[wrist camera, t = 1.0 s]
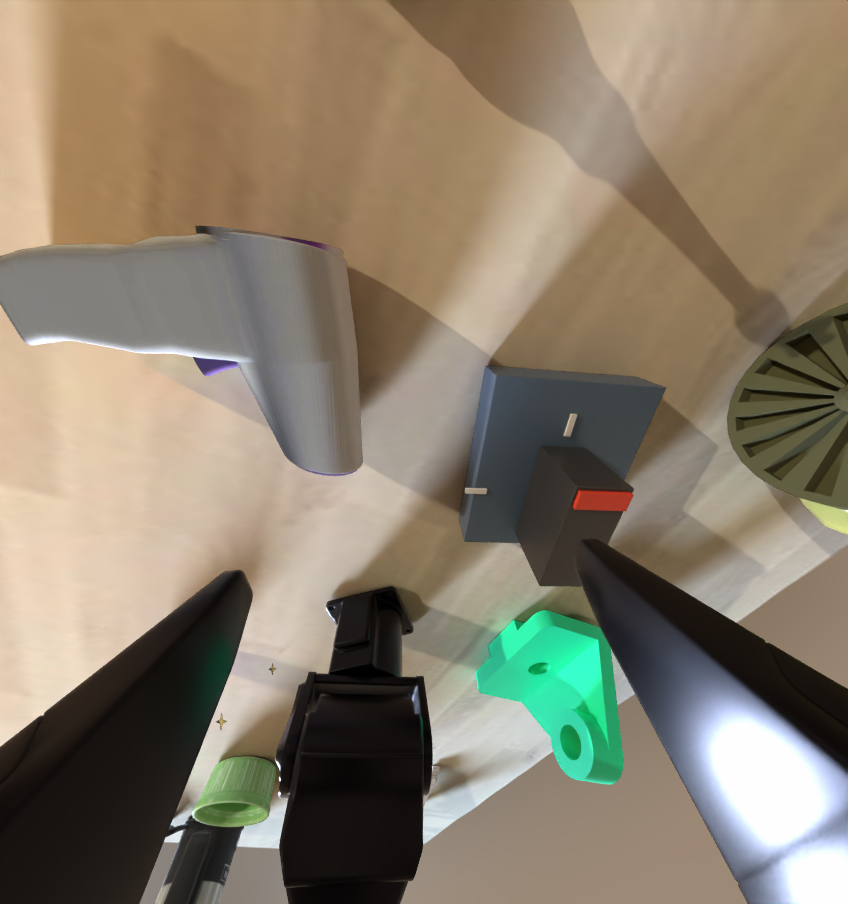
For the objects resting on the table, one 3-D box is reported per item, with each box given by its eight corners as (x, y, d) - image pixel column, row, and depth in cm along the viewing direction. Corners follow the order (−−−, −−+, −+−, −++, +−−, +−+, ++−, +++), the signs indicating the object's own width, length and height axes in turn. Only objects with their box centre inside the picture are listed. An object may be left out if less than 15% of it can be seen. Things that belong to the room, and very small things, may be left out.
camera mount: (535, 597, 29) (595, 735, 20) (594, 617, 31) (673, 751, 22) (469, 664, 34) (494, 801, 25) (524, 677, 36) (566, 809, 27)
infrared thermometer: (54, 245, 16) (348, 231, 15) (159, 456, 21) (375, 449, 21) (-77, 229, 12) (320, 210, 11) (96, 495, 17) (363, 488, 17)
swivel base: (581, 533, 26) (599, 557, 23) (449, 529, 25) (454, 554, 22) (645, 377, 20) (678, 388, 17) (475, 364, 19) (485, 375, 16)
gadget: (554, 534, 22) (590, 590, 18) (514, 533, 22) (541, 590, 18) (586, 447, 19) (638, 491, 15) (539, 445, 19) (579, 489, 14)
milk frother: (253, 828, 53) (204, 1003, 40) (161, 839, 53) (82, 1018, 40) (222, 799, 47) (151, 996, 34) (117, 811, 47) (4, 1015, 33)
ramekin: (208, 778, 43) (189, 826, 39) (214, 750, 39) (194, 800, 36) (274, 782, 45) (262, 828, 41) (286, 756, 41) (274, 804, 38)
